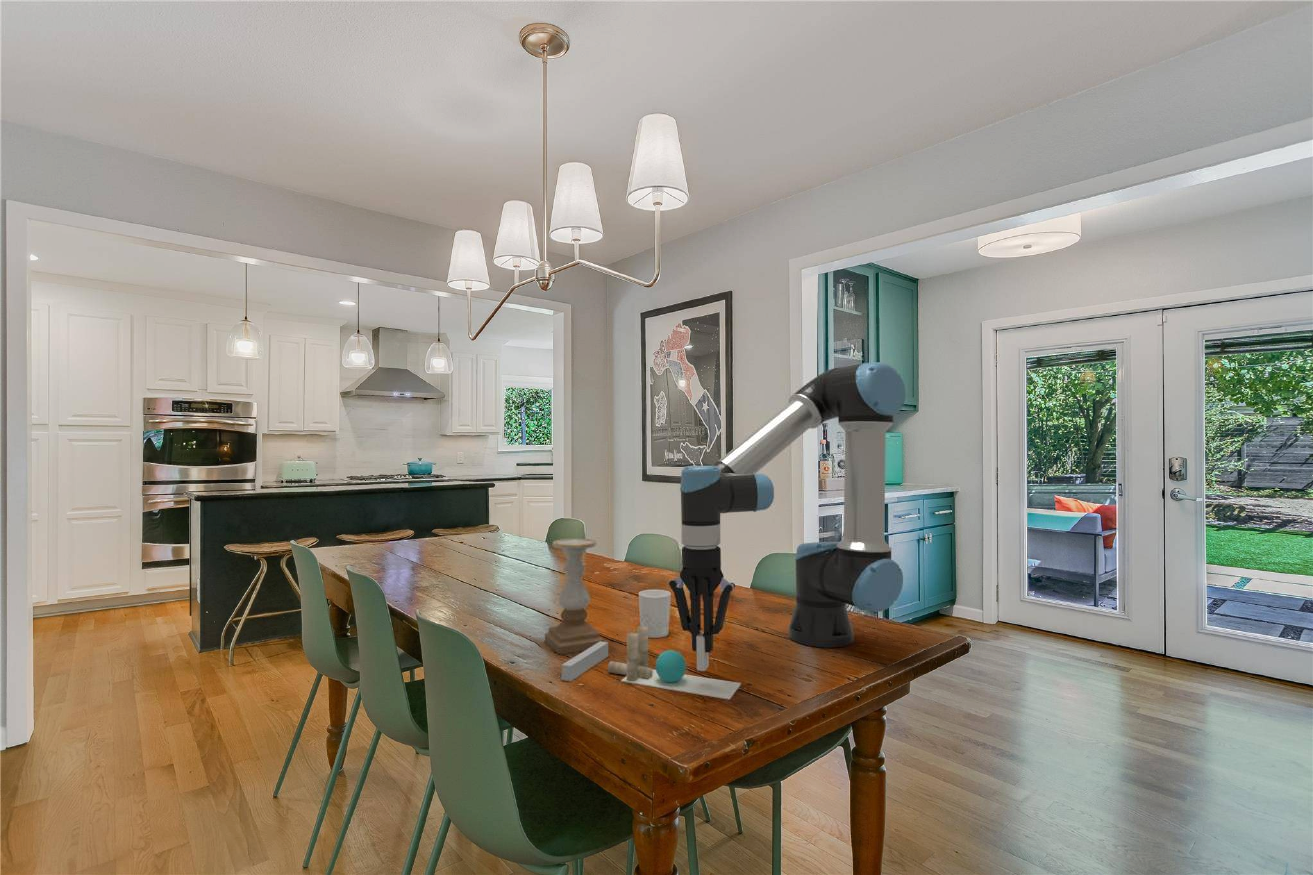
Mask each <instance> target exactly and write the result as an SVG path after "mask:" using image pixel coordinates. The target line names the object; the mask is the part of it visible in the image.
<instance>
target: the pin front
mask: <svg viewBox="0 0 1313 875" xmlns="http://www.w3.org/2000/svg"><path fill="white" fill-rule="evenodd" d="M652 669H653V668H652V667H649V666H648V667H643V666H638V677H640V678H645V679H649V678H651V677H652V674H653V670H654V669H653V670H652ZM607 671H608V673H609V674H610V673H611V674H616V675H622V676H627V663H624V662H619V661H613V660H611V661H609V663H608V665H607Z"/></svg>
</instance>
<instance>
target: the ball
mask: <svg viewBox="0 0 1313 875" xmlns="http://www.w3.org/2000/svg"><path fill="white" fill-rule="evenodd" d="M655 670H656V672H657V674H658V676H659V677H660V678H661V679H662V680H663V681H665V682H669V683H673V682H677V681H679V680H680V679H681V678H682V677H683V676H684V674H685V675H686V670H687V662H686V659H685V657H684V656H683V655H682V654H681V653H680V652H679V651H677V650H673V649H669V650H667V649H666V650H665V651H663V652H661V653H660V654H659V655H658V656H657V659H656V662H655Z"/></svg>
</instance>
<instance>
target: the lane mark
mask: <svg viewBox="0 0 1313 875" xmlns="http://www.w3.org/2000/svg"><path fill="white" fill-rule="evenodd" d="M652 670H653V674H652V677H651V678H649V679H645V678H640V677H638V680H636V681H628V680H627V675H625V677H623V678H622V679H621V680H620V682H623V683H629V684H633V685H634V684H635V685H639V686H640V685H641V686H646V687H653V688H657V689H665V690H669V691H670V690H671V691H676V692H682V693H688V694H694V695H700V696H706V697H712V698H718V699H723V700H731V699H732V697H733V696H734V695H735V693H736V692H737V690H739V688H740V686H741V685H742V683H741V682H735V681H729V680H723V679H715V678H710V677H705V676H704V677H703V676H698V675H690V674H686V673H685V674H684V676H683V677H682V678H681V679H680V680H679V681H677V682H673V683H669V682H665V681H663V680H662V679H661V678H660V677H659V676H658V674H657V672H656V669H653V668H652Z"/></svg>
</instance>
